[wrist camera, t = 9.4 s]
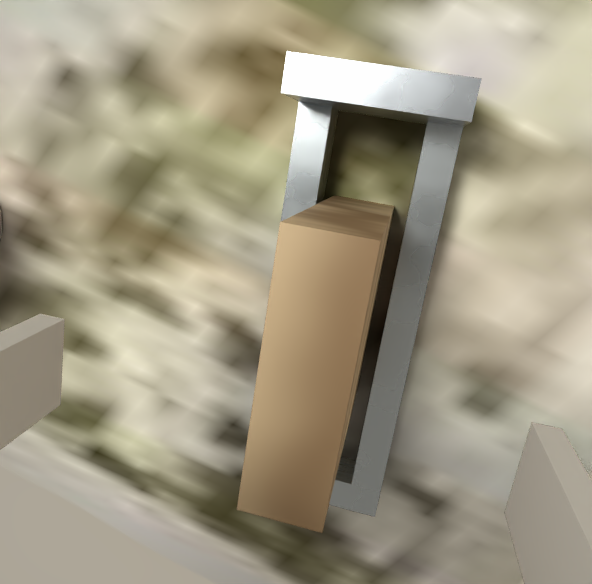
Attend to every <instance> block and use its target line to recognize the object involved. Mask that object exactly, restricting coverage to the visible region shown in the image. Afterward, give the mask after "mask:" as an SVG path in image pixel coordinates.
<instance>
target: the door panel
mask: <svg viewBox="0 0 592 584" xmlns="http://www.w3.org/2000/svg"><path fill="white" fill-rule="evenodd" d="M393 211H394V206H391V205H386V204H380V203H374V202H369V201H363V200H357V199H352V198H346V197H341V196H335V195H334V196H332V197H330V198H328V199H326V200H324V201H322V202H320V203H318V204H316V205H314V206H312V207H310V208H308V209H306V210H304V211H302V212H299V213H297V214H295V215H293V216H291V217H289V218H287V219H285V220H283V221H281V222H280V226H279V233H278V240H277V246H276V253H275V260H274V266H273V273H272V279H271V286H270V293H269V299H268V306H267V313H266V319H265V326H264V332H263V339H262V346H261V352H260V359H259V365H258V372H257V379H256V385H255V392H254V399H253V405H252V412H251V418H250V425H249V432H248V438H247V445H246V452H245V458H244V465H243V471H242V478H241V485H240V491H239V498H238V505H237V510H240V511H244V512H247V513H251V514H255V515H258V516H262V517H266V518H269V519H273V520H277V521H280V522H284V523H288V524H291V525H295V526H299V527H302V528H306V529H310V530H313V531H317V532H321V533H322V531H323V527H324V523H325V519H326V515H327V511H328V507H329V503H330V499H331V495H332V491H333V486H334V482H335V478H336V474H337V470H338V466H339V462H340V458H341V454H342V450H343V446H344V442H345V437H346V433H347V429H348V425H349V421H350V417H351V413H352V409H353V405H354V401H355V397H356V392H357V388H358V383H359V378H360V373H361V368H362V363H363V358H364V353H365V348H366V344H367V339H368V334H369V329H370V324H371V319H372V314H373V309H374V304H375V299H376V294H377V289H378V284H379V279H380V275H381V270H382V265H383V260H384V255H385V250H386V245H387V240H388V235H389V230H390V225H391V220H392V215H393Z"/></svg>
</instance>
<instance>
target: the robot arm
mask: <svg viewBox="0 0 592 584" xmlns="http://www.w3.org/2000/svg"><path fill="white" fill-rule="evenodd" d="M63 340H64V319H62V318H57V317H53V316H48V315H44V314H39V315H36V316H34V317H32V318H30V319H28V320H25V321H23V322H21V323H19V324H17V325H14V326H12V327H10V328H8V329H6V330H3V331H1V332H0V450H1V449H2V448H3V447H5V446H6V445H7V444H9V443H10V442H11V441H13V440H14V439H15V438H17V437H18V436H19V435H21V434H22V433H23V432H25V431H26V430H27V429H29V428H30V427H31V426H33V425H34V424H35V423H37V422H38V421H39V420H41V419H42V418H43V417H45V416H46V415H47V414H49V413H50V412H51V411H53V410H54V409H55V408H57V407H58V406H59V405H61V383H62V362H63ZM504 513H505V516H506V520H507V523H508V527H509V531H510V534H511V538H512V541H513V545H514V549H515V552H516V556H517V559H518V563H519V566H520V570H521V574H522V577H523V581H524V584H592V480H591V478H590V476H589V475H588V473H587V471H586V469H585V468H584V466H583V464H582V462H581V461H580V459H579V457H578V455H577V454H576V452H575V450H574V448H573V447H572V445H571V443H570V441H569V440H568V438H567V436H566V434H565V433H564V431H563V429H561V428H556V427H552V426H547V425H543V424H538V423H533V422H532V423H531V426H530V429H529V433H528V436H527V439H526V442H525V446H524V449H523V452H522V456H521V459H520V462H519V466H518V469H517V472H516V476H515V479H514V482H513V486H512V489H511V492H510V496H509V499H508V502H507V506H506V509H505V512H504Z"/></svg>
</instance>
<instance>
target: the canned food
mask: <svg viewBox="0 0 592 584" xmlns="http://www.w3.org/2000/svg"><path fill="white" fill-rule="evenodd" d="M1 235H2V212H1V209H0V240H1Z"/></svg>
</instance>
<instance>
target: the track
mask: <svg viewBox="0 0 592 584" xmlns="http://www.w3.org/2000/svg"><path fill="white" fill-rule="evenodd" d="M480 83H481V78H474V77H467V76H460V75H452V74H445V73H438V72H431V71H424V70H417V69H410V68H402V67H395V66H388V65H381V64H374V63H367V62H360V61H353V60H345V59H338V58H331V57H324V56H317V55H310V54H303V53H295V52H288V51H287V53H286V60H285V67H284V74H283V81H282V88H281V93H282V94H284V95H286V96H288V97H290V98H292V99H295V100H297V101H299V105H298V111H297V118H296V125H295V131H294V138H293V144H292V151H291V158H290V164H289V171H288V177H287V184H286V191H285V197H284V204H283V210H282V217H281V221H283V220H285V219H287V218H289V217H291V216H293V215H295V214H297V213H299V212H302V211H304V210H306V209H308V208H310V207H312V206H314V205H316V204H318V203H320V202H322V201H324V195H325V189H326V183H327V178H328V172H329V166H330V160H331V154H332V148H333V142H334V136H335V130H336V125H337V119H338V113H339V111H343V112H349V113H356V114H362V115H368V116H375V117H381V118H388V119H394V120H401V121H407V122H414V123H420V124H426V129H425V134H424V139H423V143H422V148H421V153H420V158H419V162H418V167H417V172H416V177H415V181H414V186H413V191H412V196H411V201H410V205H409V210H408V215H407V220H406V224H405V229H404V234H403V239H402V243H401V248H400V253H399V258H398V262H397V267H396V272H395V277H394V281H393V286H392V291H391V296H390V301H389V305H388V310H387V315H386V320H385V324H384V329H383V334H382V339H381V343H380V348H379V353H378V358H377V362H376V367H375V372H374V377H373V381H372V386H371V391H370V396H369V401H368V405H367V410H366V415H365V420H364V424H363V429H362V434H361V439H360V443H359V448H358V453H357V458H356V460H353V459H349V458H345V457H341V458H340V462H339V466H338V470H337V474H336V478H335V482H334V486H333V491H332V495H331V499H330V503H329V505H332V506H336V507H340V508H343V509H347V510H351V511H355V512H359V513H362V514H366V515H370V516H374V517H375V514H376V509H377V505H378V500H379V496H380V492H381V487H382V483H383V478H384V474H385V469H386V465H387V461H388V456H389V452H390V447H391V443H392V439H393V434H394V430H395V425H396V421H397V417H398V412H399V408H400V403H401V399H402V394H403V390H404V386H405V381H406V377H407V372H408V368H409V364H410V359H411V355H412V350H413V346H414V342H415V337H416V333H417V328H418V324H419V319H420V315H421V311H422V306H423V302H424V297H425V293H426V289H427V284H428V280H429V275H430V271H431V267H432V262H433V258H434V253H435V249H436V244H437V240H438V236H439V231H440V227H441V222H442V218H443V214H444V209H445V205H446V200H447V196H448V192H449V187H450V183H451V178H452V174H453V169H454V165H455V161H456V156H457V152H458V147H459V143H460V139H461V134H462V130H463V127H464V126H465V125H467V124H469V123H470V122H472V117H473V113H474V109H475V104H476V100H477V96H478V91H479V87H480Z"/></svg>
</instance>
